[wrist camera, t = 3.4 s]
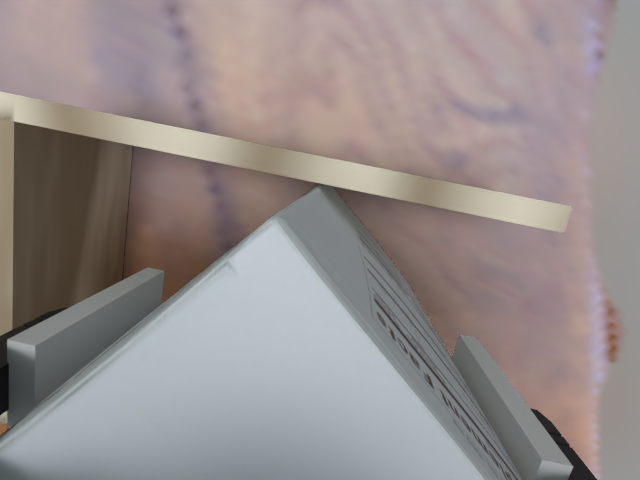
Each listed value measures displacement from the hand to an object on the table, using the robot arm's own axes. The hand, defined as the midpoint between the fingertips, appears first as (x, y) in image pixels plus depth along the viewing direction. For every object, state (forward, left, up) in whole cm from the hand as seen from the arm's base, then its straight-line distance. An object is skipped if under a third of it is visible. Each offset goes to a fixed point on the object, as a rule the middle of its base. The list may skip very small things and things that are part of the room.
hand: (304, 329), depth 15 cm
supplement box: (0, 0, -8) cm, 8 cm away
